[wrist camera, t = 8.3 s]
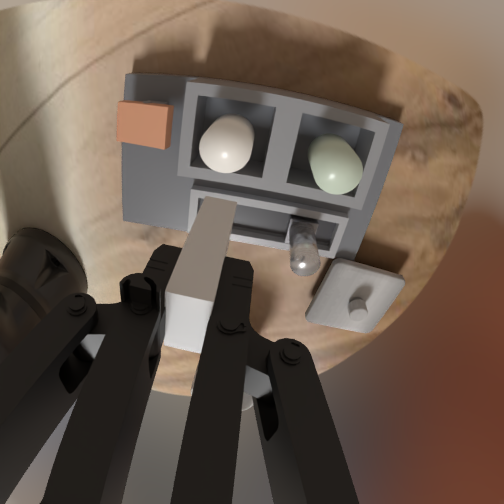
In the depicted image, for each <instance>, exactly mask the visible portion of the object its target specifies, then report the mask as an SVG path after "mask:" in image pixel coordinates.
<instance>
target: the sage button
mask: <svg viewBox="0 0 504 504" xmlns="http://www.w3.org/2000/svg"><path fill="white" fill-rule="evenodd" d="M308 160H309V163H310V166H311V170H312V173H313V176H314V179H315V181H316V183H317V185H318V186H319V187H320V188H321V189H322V190H324V191H325V192H327V193H330V194H337V195H338V194H344V193H347V192H349V191H351V190H353V189H354V188H355V187H356V186H357V185H358V184H359V182H360V180H361V178H362V174H363V166H362V162H361V160H360V158H359V157H358V156H357V154H356V153H355V152H354V150H353V149H352V148H351V147H350V145H349V144H348V143H347V142H346V140H345V139H344V138H342V137H341V136H339V135H336V134H332V133H327V134H322V135H320V136H318V137H316V138H315V139H314V140H313V141H312V142H311V144H310V146H309V148H308Z"/></svg>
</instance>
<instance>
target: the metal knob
mask: <svg viewBox="0 0 504 504" xmlns="http://www.w3.org/2000/svg"><path fill="white" fill-rule="evenodd" d="M318 225H319V223H318V219H313V218H308V217H303V216H298V215H293V214H290V216H289V220H288V224H287V228H286V232H285V235H284V242H285V243H289V252H290V267H291V269H292V271H293V272H294V273H295V274H297V275H300V276H309V275H312V274H314V273H315V272H317V271H318V269H319V267H320V258H319V252H318V247H317V242H316V237H315V235H316V232H317V228H318Z"/></svg>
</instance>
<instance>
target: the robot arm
mask: <svg viewBox="0 0 504 504" xmlns="http://www.w3.org/2000/svg"><path fill="white" fill-rule="evenodd" d="M236 206H237V202H234V201H229V200H224V199H220V198H215V197H210V196H205V198H204V201H203V203H202V205H201V207H200V209H199V212H198V214H197V216H196V218H195V221H194V223H193V225H192V228H191V230H190V232H189V234H188V237H187V239H186V241H185V244H184V246H183V248H179V247H175V246H170V245H165V244H162V245H161V246H160V247H158V248H157V249H156V250H154V252H153V254H152V256H151V258H150V261H148V263H147V265H146V267H145V269H144V271H143V273H135V274H130V275H128V276H126V277H124V278H123V279H122V280H121V281H120V294H121V302H119V303H114V304H96V302H95V300H94V298H93V297H91V296H90V295H88V294H87V281H86V277H85V274H84V272H83V270H82V268H81V266H80V264H79V262H78V261H77V259H76V258H75V256H74V255H73V254H72V253H71V251H70V250H69V249H68V248H67V247H66V246H65V245H64V244H63V243H62V242H60V241H59V240H58V239H57V238H55V237H54V236H52V235H50V234H49V233H47V232H45V231H42V230H39V229H35V228H25V229H22V230H20V231H18V232H17V233H16V234H15V235H14V236H13V237H12V238H11V239H10V240H9V241H8V242H7V244H6V246H5V248H4V251H3V256H2V257H1V259H0V504H5V503H6V501H7V499H8V498H9V496H10V495H11V493H12V492H13V490H14V489H15V487H16V485H17V484H18V482H19V481H20V479H21V478H22V476H23V475H24V473H25V472H26V470H27V469H28V467H29V466H30V464H31V463H32V461H33V460H34V458H35V457H36V456H37V454H38V453H39V451H40V450H41V448H42V447H43V445H44V444H45V443H46V441H47V440H48V438H49V437H50V435H51V434H52V433H53V431H54V430H55V428H56V427H57V425H58V424H59V423H60V421H61V420H62V418H63V417H64V416H65V414H66V413H67V412H68V410H69V409H70V408H71V406H72V405H73V403H74V402H75V401H76V399H77V398H78V399H77V401H76V404H75V406H74V409H73V411H72V414H71V416H70V419H69V422H68V425H67V428H66V430H65V432H64V435H63V438H62V441H61V444H60V446H59V449H58V452H57V455H56V458H55V461H54V464H53V467H52V470H51V474H50V477H49V480H48V483H47V487H46V490H45V494H44V497H43V499H42V501H41V503H40V504H121V503H122V499H123V494H124V490H125V486H126V482H127V478H128V473H129V470H130V466H131V461H132V458H133V454H134V450H135V446H136V442H137V438H138V435H139V431H140V427H141V423H142V420H143V416H144V413H145V409H146V405H147V402H148V398H149V395H150V392H151V388H152V385H153V381H154V378H155V375H156V371H157V368H158V365H159V361H160V358H161V346H162V343H163V340H164V345H166V346H170V347H174V348H178V349H183V350H187V351H191V352H196V353H201V355H200V360H199V364H198V369H197V373H196V378H195V383H194V387H193V392H192V397H191V401H190V406H189V411H188V416H187V421H186V426H185V430H184V435H183V440H182V445H181V450H180V455H179V460H178V466H177V471H176V476H175V481H174V487H173V492H172V497H171V503H170V504H232V496H233V487H234V477H235V468H236V459H237V449H238V440H239V431H240V421H241V412H242V403H243V393H244V392H245V393H247V394H249V395H251V396H252V400H253V405H254V410H255V415H256V420H257V425H258V430H259V435H260V440H261V445H262V449H263V455H264V460H265V464H266V468H267V474H268V478H269V483H270V487H271V492H272V497H273V502H274V504H359V502H358V498H357V495H356V492H355V488H354V485H353V482H352V479H351V475H350V473H349V469H348V466H347V463H346V460H345V457H344V453H343V450H342V447H341V444H340V441H339V438H338V435H337V432H336V428H335V425H334V422H333V419H332V416H331V413H330V410H329V407H328V404H327V401H326V398H325V395H324V392H323V389H322V386H321V383H320V380H319V377H318V374H317V371H316V368H315V365H314V362H313V359H312V356H311V354H310V352H309V350H308V348H307V347H306V346H305V345H304V344H302V343H301V342H299V341H297V340H295V339H289V338H284V339H279V340H277V341H276V342H272V341H270V340H268V339H266V338H264V337H262V336H260V335H259V334H258V333H257V332H255V331H254V329H253V328H252V326H251V324H250V322H249V313H250V303H251V293H252V284H253V274H254V270H253V268H252V266H251V264H250V262H249V261H245V260H240V259H235V258H230V257H226V254H227V250H228V245H229V240H230V235H231V230H232V225H233V220H234V216H235V211H236Z"/></svg>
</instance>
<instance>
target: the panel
mask: <svg viewBox="0 0 504 504" xmlns="http://www.w3.org/2000/svg"><path fill="white" fill-rule="evenodd" d="M124 100H130V101H140V102H143V101H152V103H158V104H166V105H173V106H174V111H173V121H172V132H171V144H170V147H169V148H167V149H165V150H163V149H158V148H153V147H148V146H142V145H137V144H131V143H126V142H122V204H123V221H128V222H134V223H140V224H146V225H152V226H158V227H164V228H170V229H175V230H181V231H187V233H189V232H190V230H191V228H192V225H193V223H194V221H195V218H196V216H197V214H198V212H199V209H200V207H201V205H202V203H203V201H204V198H205V196H210V197H215V198H220V199H224V200H229V201H234V202H237V206H236V211H235V216H234V220H233V225H232V230H231V235H230V240H232V241H237V242H243V243H249V244H255V245H260V246H266V247H272V248H277V249H283V250H289V243H285V242H284V235H285V232H286V228H287V224H288V220H289V216H290V214H293V215H298V216H303V217H308V218H313V219H318V223H319V225H318V228H317V232H316V235H315V237H316V242H317V247H318V252H319V256H322V257H328V258H333V259H334V257H335V258H343V259H346V260H351V261H354V259H355V256H356V254H357V252H358V249H359V247H360V244H361V242H362V240H363V237H364V235H365V232H366V230H367V227H368V225H369V222H370V219H371V217H372V214H373V212H374V209H375V206H376V204H377V201H378V198H379V196H380V193H381V190H382V188H383V185H384V182H385V179H386V176H387V174H388V171H389V168H390V165H391V162H392V159H393V156H394V153H395V150H396V147H397V144H398V141H399V138H400V134H401V131H402V128H403V125H404V124H402V123H401V122H399V121H397V120H394V119H391V118H388V117H385V116H382V115H379V114H376V113H373V112H370V111H367V110H363V109H360V108H357V107H353V106H350V105H346V104H343V103H339V102H335V101H331V100H328V99H324V98H320V97H316V96H311V95H307V94H303V93H298V92H294V91H289V90H284V89H279V88H274V87H268V86H263V85H257V84H251V83H245V82H238V81H231V80H224V79H216V78H207V77H197V76H186V75H173V74H156V73H128V74H126V76H125V89H124ZM230 113H233V114H239V115H241V116H243V117H245V118H246V119H248V120H249V122H250V123H251V124H252V126H253V129H254V133H255V137H254V142H253V147H252V152H251V156H250V159H249V161H248V162H247V163H246V165H245V166H244V167H243V168H241V169H240V170H238V171H235V172H232V173H220V172H217V171H214V170H212V169H211V168H209V167H208V166H207V165H206V164H205V163H204V161H203V160H202V158H201V155H200V151H199V145H200V140H201V138H202V136H203V135H204V133H205V132H206V131H207V130H208V128H209V127H210V126H211V125H212V124H213V122H214V121H215V120H216V119H217V118H219V117H220V116H222V115H225V114H230ZM327 133H332V134H336V135H339V136H341V137H342V138H344V139H345V140H346V142H347V143H348V144H349V145H350V147H351V148H352V149H353V150H354V152H355V153H356V154H357V156H358V157H359V158H360V160H361V162H362V166H363V174H362V178H361V180H360V182H359V184H358V185H357V186H356V187H355V188H354V189H353V190H351V191H349V192H347V193H344V194H338V195H337V194H330V193H327V192H325V191H324V190H322V189H321V188H320V187H319V186H318V185H317V183H316V181H315V179H314V176H313V173H312V170H311V166H310V163H309V160H308V148H309V146H310V144H311V142H312V141H313V140H314V139H315V138H316V137H318V136H320V135H322V134H327Z"/></svg>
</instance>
